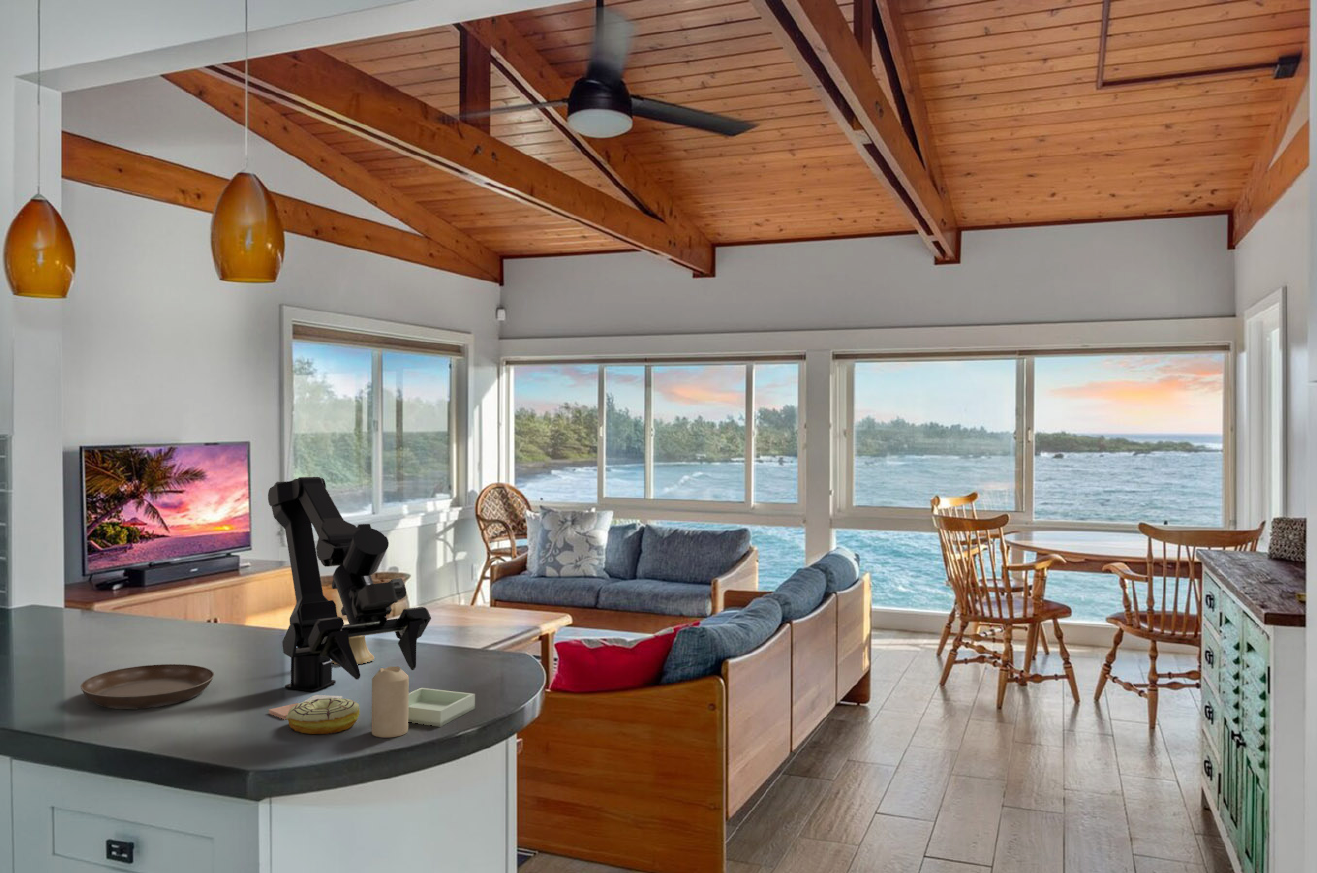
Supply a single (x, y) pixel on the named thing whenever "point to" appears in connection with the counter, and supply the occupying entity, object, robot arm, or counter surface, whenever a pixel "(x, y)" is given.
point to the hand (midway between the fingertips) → (386, 673)
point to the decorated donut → (323, 715)
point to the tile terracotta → (281, 711)
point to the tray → (438, 706)
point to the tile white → (321, 697)
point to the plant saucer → (147, 685)
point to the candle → (390, 702)
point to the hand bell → (359, 650)
